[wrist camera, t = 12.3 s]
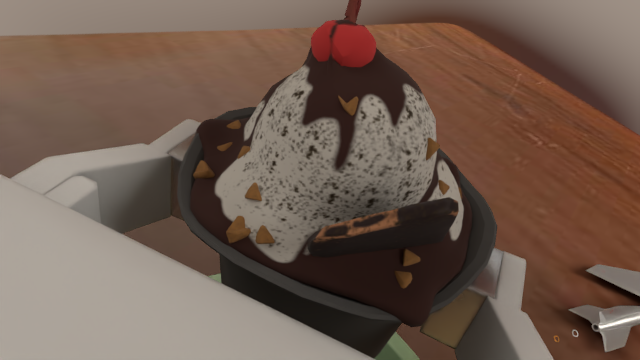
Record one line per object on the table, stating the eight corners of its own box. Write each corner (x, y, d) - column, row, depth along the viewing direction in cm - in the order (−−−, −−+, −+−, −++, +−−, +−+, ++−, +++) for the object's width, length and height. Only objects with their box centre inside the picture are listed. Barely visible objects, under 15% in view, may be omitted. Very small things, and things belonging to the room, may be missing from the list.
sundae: (240, 302, 20) (306, -131, 11) (398, 384, 19) (623, -40, 10) (123, 454, 15) (66, -115, 6) (325, 583, 14) (656, 84, 5)
